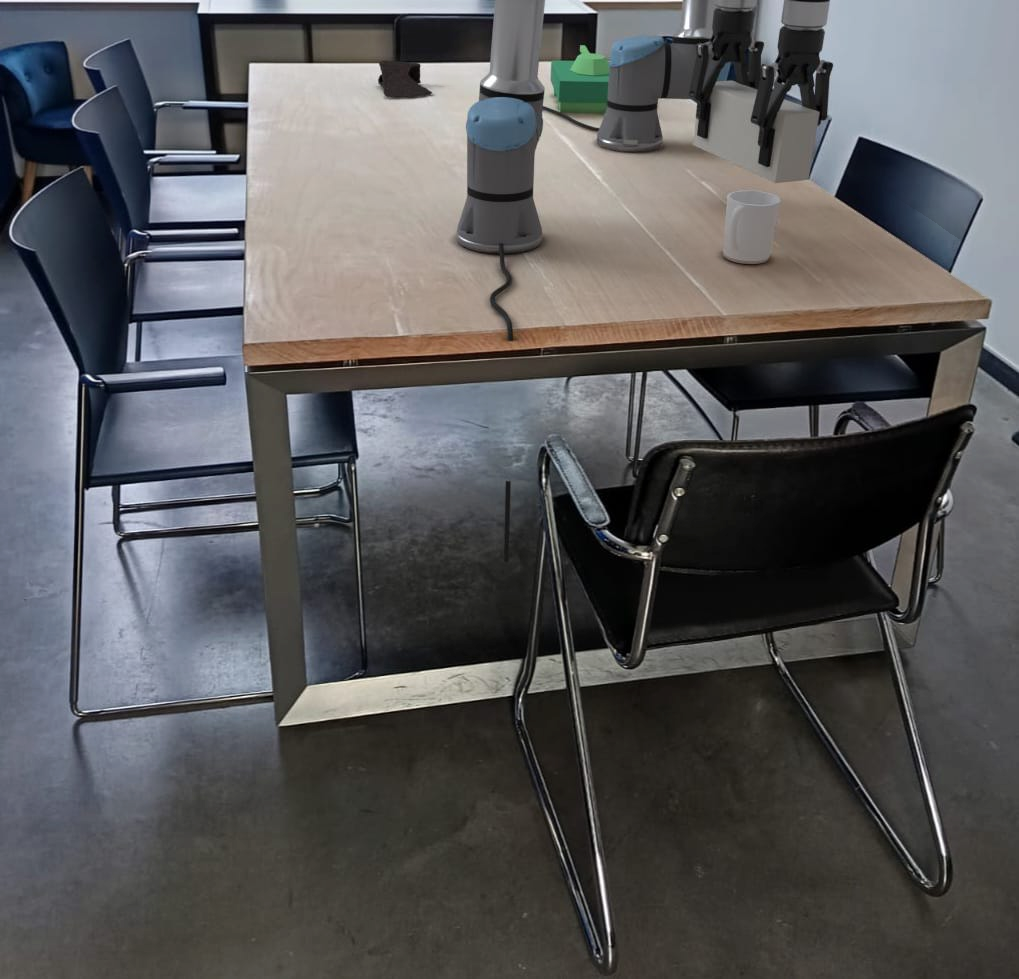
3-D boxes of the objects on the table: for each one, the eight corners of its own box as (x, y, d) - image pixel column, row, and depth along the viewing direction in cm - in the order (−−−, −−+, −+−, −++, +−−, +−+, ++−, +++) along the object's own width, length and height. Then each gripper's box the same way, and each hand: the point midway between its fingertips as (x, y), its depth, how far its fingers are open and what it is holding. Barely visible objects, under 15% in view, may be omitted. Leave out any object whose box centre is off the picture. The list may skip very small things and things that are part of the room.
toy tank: (613, 42, 302) (631, 66, 272) (610, 88, 309) (627, 117, 279) (549, 40, 301) (560, 65, 272) (547, 87, 308) (558, 116, 278)
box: (808, 179, 197) (819, 111, 191) (775, 183, 194) (785, 114, 188) (724, 142, 219) (731, 80, 213) (693, 145, 216) (699, 82, 210)
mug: (736, 244, 196) (743, 187, 191) (781, 255, 191) (790, 197, 186) (704, 259, 189) (711, 200, 183) (750, 272, 184) (758, 211, 179)
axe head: (443, 87, 294) (392, 77, 287) (436, 115, 299) (385, 106, 292) (421, 62, 307) (371, 52, 300) (414, 89, 311) (365, 80, 304)
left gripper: (837, 20, 192) (815, 153, 203) (740, 25, 185) (723, 162, 197) (865, 27, 186) (841, 163, 198) (765, 32, 179) (746, 173, 191)
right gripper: (768, 3, 208) (752, 126, 220) (676, 7, 201) (665, 134, 213) (792, 9, 202) (773, 135, 214) (698, 13, 195) (684, 144, 207)
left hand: (782, 162), depth 197 cm, fingers closed on box, 7 cm apart
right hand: (719, 135), depth 214 cm, fingers closed on box, 7 cm apart
